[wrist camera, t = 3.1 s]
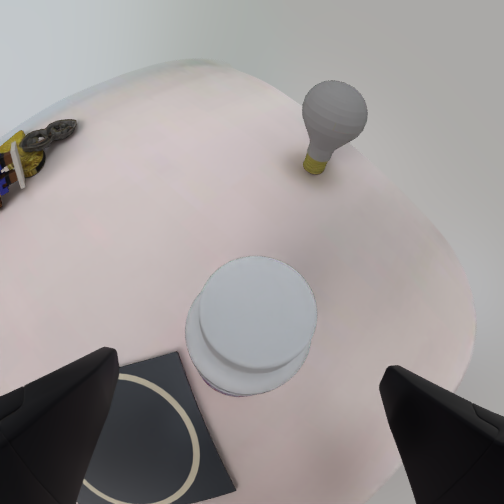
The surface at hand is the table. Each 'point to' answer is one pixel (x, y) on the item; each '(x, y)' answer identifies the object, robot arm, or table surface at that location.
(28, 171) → the decorative item
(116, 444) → the dark square coaster
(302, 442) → the table surface
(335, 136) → the light bulb
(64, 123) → the corroded twin loop
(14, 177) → the figurine
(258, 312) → the pill bottle
